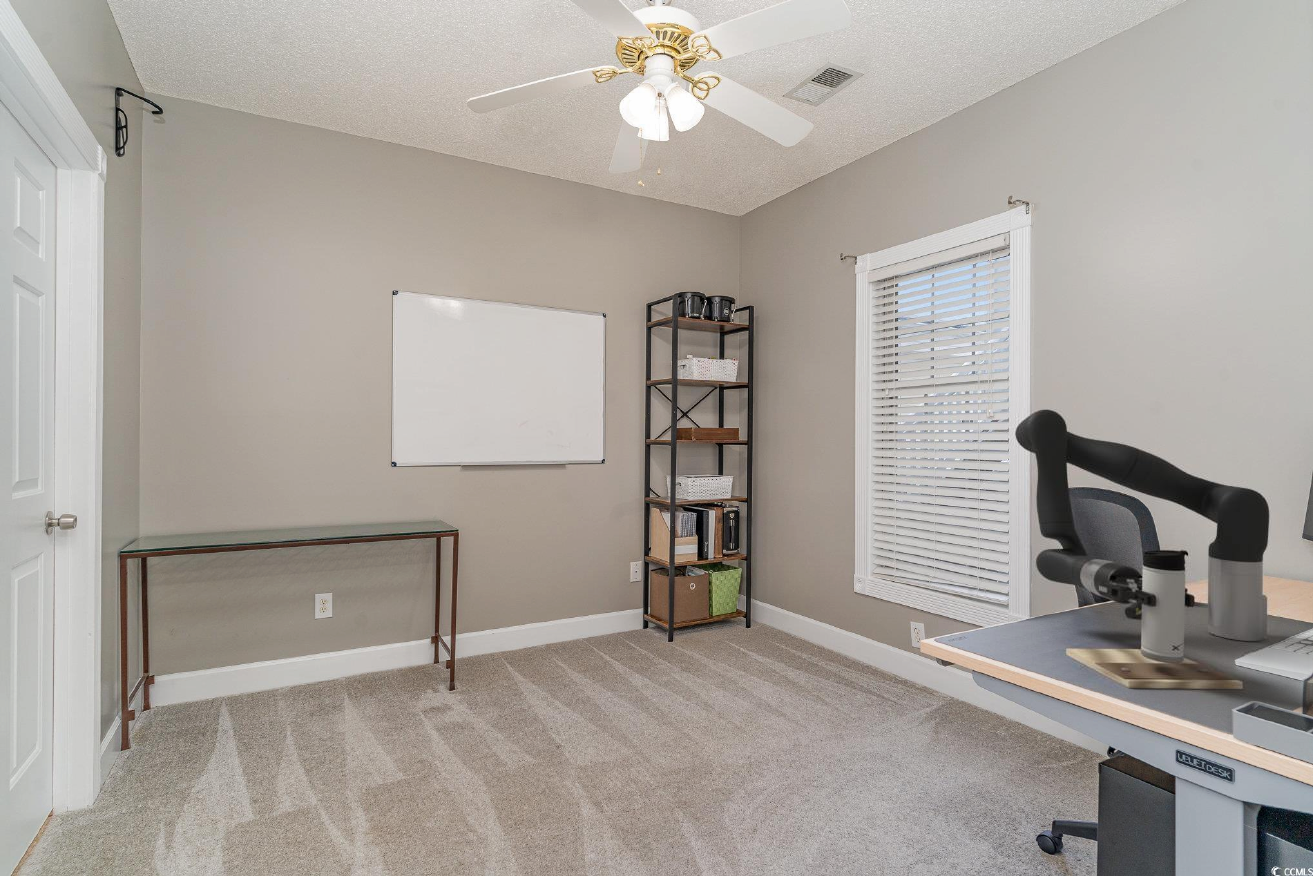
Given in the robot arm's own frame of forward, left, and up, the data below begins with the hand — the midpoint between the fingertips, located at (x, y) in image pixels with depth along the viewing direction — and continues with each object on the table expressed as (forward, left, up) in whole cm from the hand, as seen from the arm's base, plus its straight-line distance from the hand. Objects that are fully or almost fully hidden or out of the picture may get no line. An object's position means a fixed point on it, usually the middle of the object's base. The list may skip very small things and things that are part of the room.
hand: (1173, 601), depth 120 cm
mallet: (-34, -52, -15) cm, 64 cm away
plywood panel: (0, -6, -15) cm, 16 cm away
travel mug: (0, -2, -11) cm, 11 cm away
